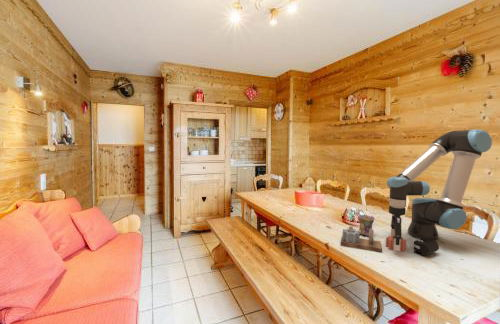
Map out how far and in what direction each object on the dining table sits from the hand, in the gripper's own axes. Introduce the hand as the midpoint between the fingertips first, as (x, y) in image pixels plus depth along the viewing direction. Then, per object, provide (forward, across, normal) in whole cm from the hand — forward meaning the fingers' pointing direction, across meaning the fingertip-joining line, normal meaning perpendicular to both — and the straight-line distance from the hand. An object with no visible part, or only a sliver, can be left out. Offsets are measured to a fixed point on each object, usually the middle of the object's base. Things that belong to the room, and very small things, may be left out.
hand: (394, 245), depth 125 cm
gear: (0, +4, -22) cm, 22 cm away
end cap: (+2, +1, +13) cm, 14 cm away
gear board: (+2, +4, -17) cm, 17 cm away
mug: (+2, -16, -15) cm, 22 cm away
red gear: (+1, 0, 0) cm, 1 cm away
